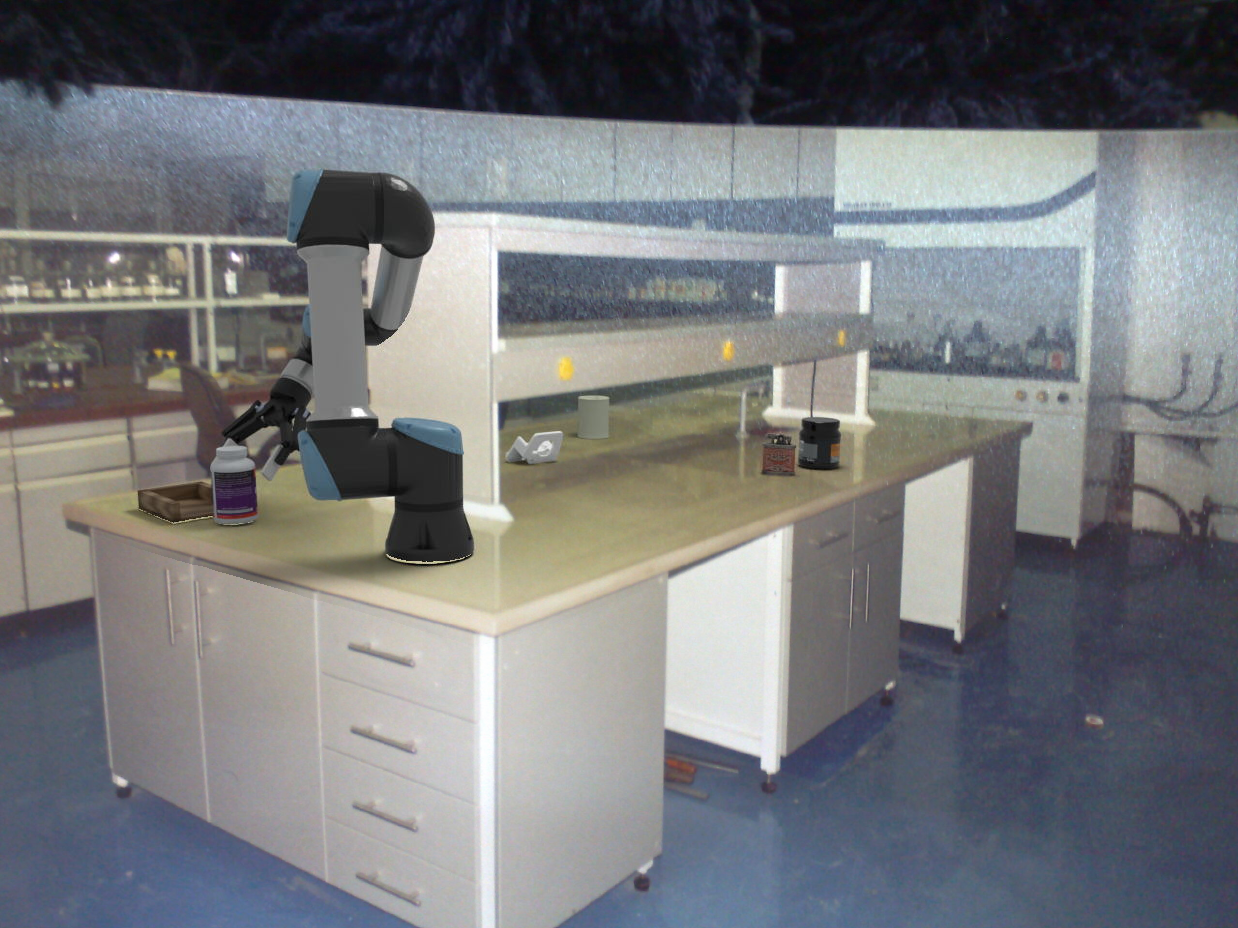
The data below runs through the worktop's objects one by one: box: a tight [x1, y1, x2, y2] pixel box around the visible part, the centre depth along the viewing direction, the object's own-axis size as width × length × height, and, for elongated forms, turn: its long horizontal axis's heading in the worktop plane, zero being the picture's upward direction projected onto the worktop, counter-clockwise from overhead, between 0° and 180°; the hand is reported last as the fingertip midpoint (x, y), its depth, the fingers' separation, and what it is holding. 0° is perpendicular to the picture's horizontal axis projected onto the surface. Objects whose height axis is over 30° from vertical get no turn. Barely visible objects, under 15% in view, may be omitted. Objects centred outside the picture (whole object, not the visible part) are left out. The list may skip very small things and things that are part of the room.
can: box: [577, 395, 610, 440], centre depth 302 cm, size 9×9×12 cm
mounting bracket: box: [504, 430, 565, 465], centre depth 263 cm, size 12×6×11 cm, turn 127°
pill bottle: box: [209, 445, 259, 525], centre depth 198 cm, size 8×8×14 cm
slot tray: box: [137, 481, 213, 523], centre depth 206 cm, size 16×13×4 cm
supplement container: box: [797, 416, 842, 471], centre depth 263 cm, size 10×10×12 cm
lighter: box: [761, 433, 797, 477], centre depth 252 cm, size 8×3×10 cm, turn 74°
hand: (240, 473), depth 200 cm, fingers open, 13 cm apart
